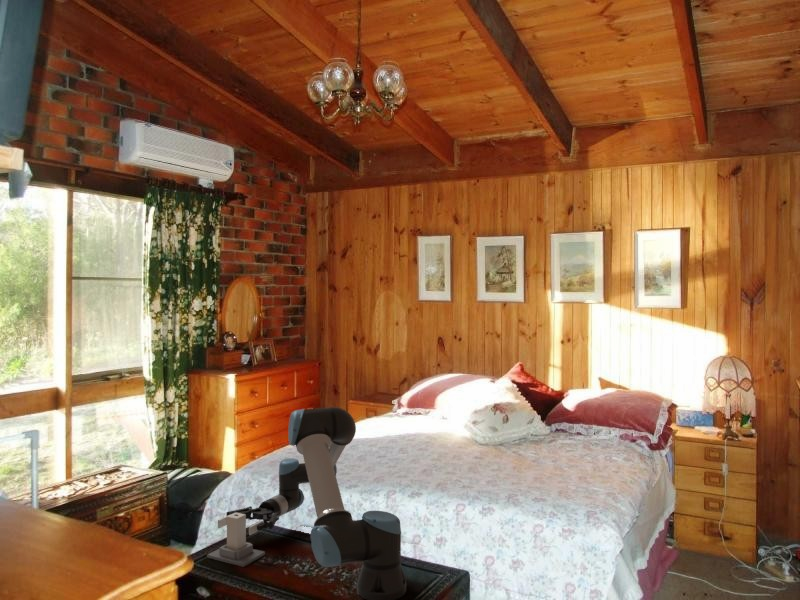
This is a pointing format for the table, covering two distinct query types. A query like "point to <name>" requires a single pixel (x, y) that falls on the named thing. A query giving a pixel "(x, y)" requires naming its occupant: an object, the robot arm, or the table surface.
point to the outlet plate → (236, 555)
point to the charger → (236, 531)
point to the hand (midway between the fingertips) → (233, 527)
